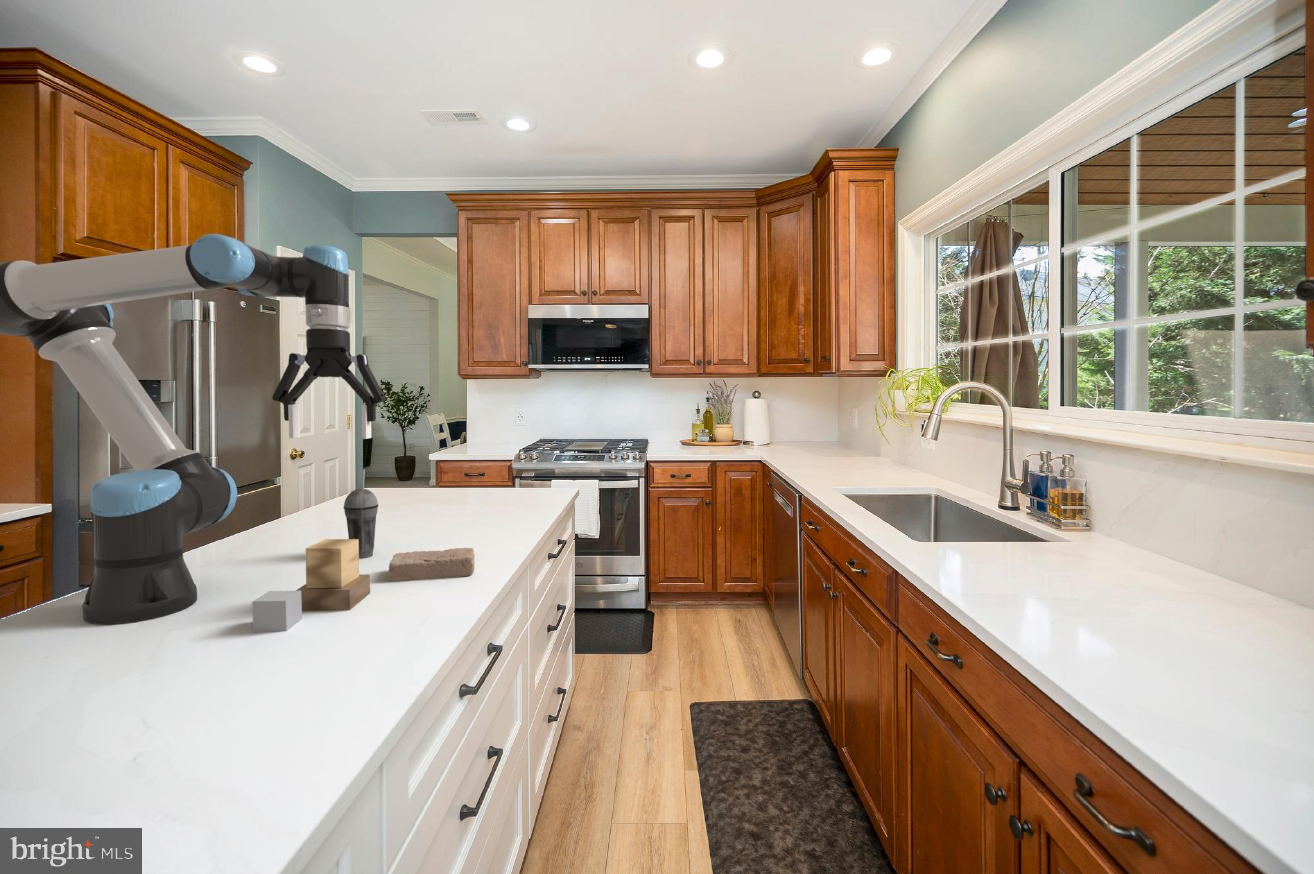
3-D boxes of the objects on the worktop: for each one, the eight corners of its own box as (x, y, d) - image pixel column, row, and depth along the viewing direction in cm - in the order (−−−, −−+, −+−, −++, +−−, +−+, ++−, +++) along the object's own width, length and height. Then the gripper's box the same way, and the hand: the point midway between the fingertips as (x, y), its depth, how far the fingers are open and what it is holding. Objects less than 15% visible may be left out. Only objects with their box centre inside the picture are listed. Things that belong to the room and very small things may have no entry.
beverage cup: (337, 559, 137) (335, 471, 135) (358, 550, 144) (356, 467, 143) (366, 560, 136) (364, 472, 134) (386, 552, 143) (384, 468, 141)
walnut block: (296, 613, 105) (295, 590, 105) (320, 595, 114) (320, 574, 113) (350, 612, 106) (349, 589, 105) (370, 594, 114) (369, 574, 114)
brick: (387, 583, 121) (387, 560, 121) (393, 571, 129) (393, 550, 129) (474, 578, 126) (474, 556, 125) (474, 567, 134) (474, 546, 133)
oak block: (306, 587, 106) (305, 548, 105) (326, 576, 113) (325, 539, 112) (341, 587, 106) (340, 548, 105) (359, 576, 113) (358, 539, 112)
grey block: (253, 632, 96) (252, 601, 95) (270, 620, 101) (269, 590, 100) (286, 631, 96) (285, 600, 96) (302, 619, 101) (301, 590, 101)
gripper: (249, 325, 113) (253, 439, 114) (387, 328, 115) (389, 440, 116) (271, 329, 120) (274, 436, 122) (401, 332, 122) (402, 437, 124)
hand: (331, 438), depth 119 cm, fingers open, 13 cm apart
